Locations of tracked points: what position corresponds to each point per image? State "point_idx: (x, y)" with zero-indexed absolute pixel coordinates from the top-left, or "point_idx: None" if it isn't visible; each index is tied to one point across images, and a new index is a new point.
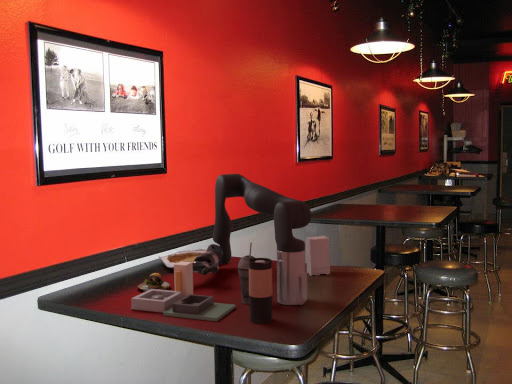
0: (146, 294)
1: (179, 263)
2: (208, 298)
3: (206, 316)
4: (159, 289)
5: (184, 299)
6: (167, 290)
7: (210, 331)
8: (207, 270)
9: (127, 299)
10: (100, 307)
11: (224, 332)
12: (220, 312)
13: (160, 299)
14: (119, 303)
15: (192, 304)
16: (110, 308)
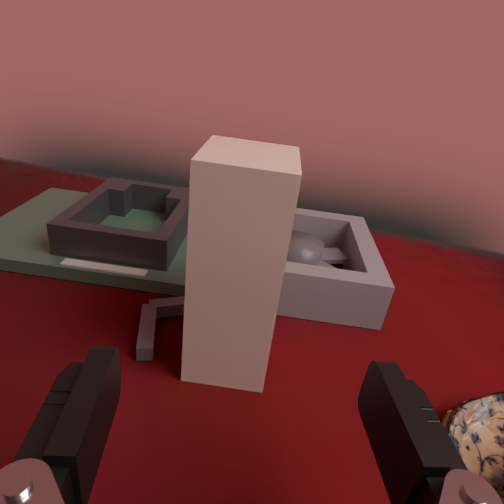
0: (357, 250)
1: (276, 152)
2: (72, 211)
3: (83, 194)
4: (457, 426)
5: (172, 213)
6: (298, 273)
7: (73, 172)
8: (53, 392)
9: (473, 321)
10: (460, 260)
11: (39, 169)
12: (32, 207)
13: None
14: (448, 286)
15: (130, 184)
16: (422, 255)
